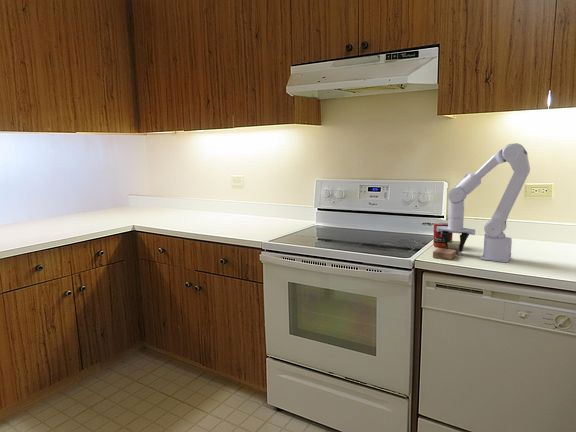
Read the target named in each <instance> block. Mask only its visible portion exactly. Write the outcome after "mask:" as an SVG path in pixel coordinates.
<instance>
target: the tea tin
mask: <svg viewBox="0 0 576 432" xmlns="http://www.w3.org/2000/svg"><path fill="white" fill-rule="evenodd" d="M447 244H448V249H452V250H456V256H460V255H461V254H462V252H460V240H452V241H451V240H450V241H449V242H448V243H447Z"/></svg>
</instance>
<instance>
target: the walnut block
mask: <svg viewBox="0 0 576 432" xmlns="http://www.w3.org/2000/svg"><path fill="white" fill-rule="evenodd" d="M456 256H457V255H456V250H452V249H446V248H437V247H436V249H434V250H433V252H432V258H433V259H439V260H446V261H447V260H448V261H452V260H453V259H454V258H455V257H456Z"/></svg>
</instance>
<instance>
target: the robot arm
mask: <svg viewBox="0 0 576 432" xmlns="http://www.w3.org/2000/svg"><path fill="white" fill-rule="evenodd" d="M506 162H507V163H508V164H509V165H510V166H511V169H512V171H513V174H512V175H511V176H510V177H511V178H510V179H509V182H508V184H507V186H506V188H505V190H504V192H503V193H502V196H501V199H500V201H499V203H498V205H497V207H496V209H495V211H494V213H493V215H492V216H491V218H490V220H488V221H487V222H486V223H485V224H484V227H483V229H484V230H483V231H484V237H483V253H482V254H483V255H482V256H481V257H480V260H484V261H492V262H500V263H509V261H510V260H511V258H512V243H513V242H512V237H508V236H506V234H505V232H504V231H505V230H506V229H507V220H508V218H509V215H510V213H511V211H512V210H513V207H514V206H515V202H516V201H517V198H518V196H519V195H520V192H521V190H522V188H523V186H524V184H525V182H526V180H527V177H528V176H529V174H530V173H531V167H530V162H529V157H528V151H527V150H526V148H525V146H523V145H522V144H520V143H517V142H516V143H508V144H506V145H505V146H504V147H503V148H502V149H500V150H499V151H497V152H495V154H493V155H492V156H491V157H490V158H489V159H488V160H487V161H486V162H484V164H483V165H481V166H480V168H479V169H477V170H476V172H469V174H465V175H464V176H463V179H462V180H461V181H460V182H458V183H455V184H454V186H455V187H453V188H450V189H449V191H448V193H447V198H448V200H449V202H448V216H447V217H448V219H447V220H448V227H447V226H437V228H436V231H438V232H439V231H441V232H442V237H443V239H444V241H445V244H446V248H445V249H448V244H447V243H448V242H449V241H450V235H451V233H454V234H460V235H459V241H460V252H461V253H462V252H463V251H464V246H465V244H466V242H467V239H468V238H469V236H470V235H471V236H475V234H476V229H475V228H473V229H472V228H468V227H464V221H465V219H464V218H465V217H464V216H465V199H466V198H467V196H468V195H470V194H471V193H472V192H473V191H475V189H476V188H477V187H479V186H480V185H481V184H482V178H483V177H485V176H486V175H487V174H489V172H491V171H492V170H493V169H494V168H496V167H497V166H498V165H500V164H504V163H506Z"/></svg>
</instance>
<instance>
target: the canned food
mask: <svg viewBox="0 0 576 432" xmlns="http://www.w3.org/2000/svg"><path fill="white" fill-rule="evenodd" d="M437 226H447V227H448V219H437V220H434V221H433V242H432V243H433V247H435V248H436V249H437V248H444V249H446V244H445V241H444V239H443V237H442V232H441V231H439V232H438V231H436V228H437ZM450 240H451V241H453V233H451V235H450Z"/></svg>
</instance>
